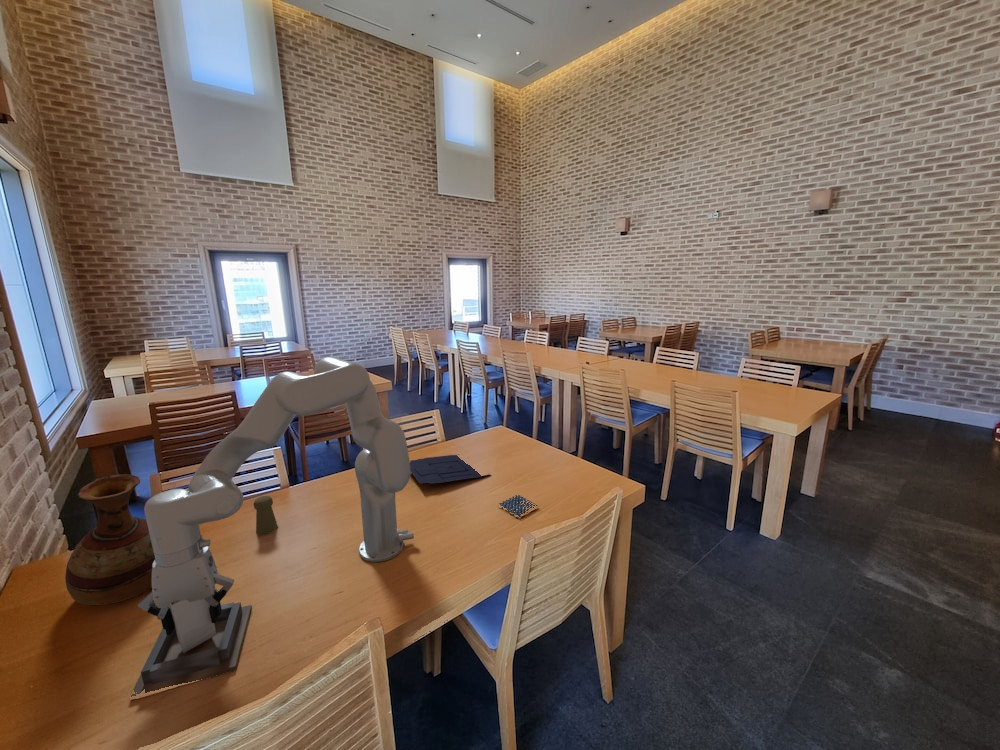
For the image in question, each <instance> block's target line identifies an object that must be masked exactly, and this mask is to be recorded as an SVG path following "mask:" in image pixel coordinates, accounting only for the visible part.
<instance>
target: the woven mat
mask: <svg viewBox="0 0 1000 750" xmlns="http://www.w3.org/2000/svg"><path fill="white" fill-rule="evenodd" d="M517 495H518V496H517ZM511 497H512V498H511ZM511 497H509V498H508V499H506V500H505V501H504V500H502V502H499V503H498V504H499V505H500V506H503V507H504V508H506V509H507V510H508V511H510V512H511V513H514V514H515V515H518V516H519V517H520V515H521V514H523V513H525V512H526V511H528V510H529V509H530V508H532V505H533V504H535V505H536V503H535V502H532V501H531V500H530V499H527V498H525V497H523V496H522V495H520V494H515V495H514V496H511ZM514 497H515V498H514ZM520 498H521V499H520ZM523 500H524V501H525V502H524V504H525V505H526V506H525V505H524V504H522V503H523ZM526 500H527V501H529V502H528V503H527V504H528V505H527V504H526V502H527V501H526ZM521 501H522V502H521ZM517 502H518V503H517ZM520 502H521V503H520ZM530 502H531V503H533V504H531V503H530ZM529 503H530V504H531V505H530V504H529ZM521 504H522V505H521ZM513 505H514V506H513ZM529 505H530V506H531V507H530V506H529ZM535 505H533V506H535ZM524 506H525V507H524ZM527 506H528V507H527ZM536 506H537V507H538V505H536ZM519 507H520V508H519ZM523 507H524V509H523ZM526 507H527V508H529V507H530V508H529V509H527V510H526ZM533 508H534V507H533ZM511 509H512V510H511ZM516 509H518V510H516ZM507 510H506V511H507ZM525 510H526V511H525ZM514 511H515V512H514ZM520 513H521V514H520Z"/></svg>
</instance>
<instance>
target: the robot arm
mask: <svg viewBox="0 0 1000 750" xmlns="http://www.w3.org/2000/svg"><path fill="white" fill-rule="evenodd" d="M313 369H314V370H313V372H314V373H313V374H312V375H307V376H306V375H304V374H300V373H297V372H295V371H294V372H293V371H283V372H279V373H278V374H276V375H274V377H273V378H272V379H271V380H270V381H269V383H268V384H267V385H266V387H265V389H264V390H263V391H262V393H261V394H260V395H259V397H258V399H257V400H256V401H255V403H254V404H253V406H252V407H251V408H250V410H249V411H248V413H247V414H246V415H245V417H244V419H243V420H242V421H241V422H240V423H239V425H238V426H237V428H235V429H234V430H233V431H231V432H230V433H229V434H228V435H227V436H226V437H224V438H222V440H221V441H220V442H219V443H217V444H216V445H215V446H214V447H213V448H212V449H211V451H210V452H208V454H207V455H206V457H205V458H204V459H203V461H202V462H201V464H200V465H199V466H198V468H197V470H196V471H195V473H194V474H193V475H192V478H191V479H190V481H189V484H188V487H187V488H188V489H186V488H185V489H184V488H173V489H169V490H165V491H161V492H159V493H157V494H155V495H153V496H151V497H150V498H149V499H147V501H146V502H145V504H144V515H145V519H146V521H147V525H148V530H149V534H150V539H151V543H152V548H153V553H154V557H155V560H154V562H153V565H152V587H151V590H150V591H149V592H148V593H147V594H146V595H145V596H144V597H142V598H141V600H140V601H139V602H138V604H137V607H138V608H139V609H141V610H143V611H145V612H146V611H147V613H148V614H149V615H152V616H155V617H156V618H157V620H160V622H161V626H162V629H165V630H166V634H167V635H170V634H171V633H172V631H173V629H174V627H175V625H174V621H173V617H172V614H171V610H170V607H171V605H170V604H171V603H173V602H178V601H182V600H188V601H189V602H193V601H197V600H201V599H205V600H206V601H207V602H208V603H209V604H210V607H209V612H210V617H211V622H212V623H216V621H217V618H218V616H219V615H221V612H222V609H221V605H222V603H221V601H222V600H223V598H224V597H225V596H226V594H227V593H228V592H229V591H230V589H231V588H232V587H233V585H234V582H235V580H234V579H233V578H230V577H228V576H225V575H222V574H219V572H218V567H217V564H216V561H215V559H214V556H213V554H212V552H211V550H210V548H209V546H211V543H212V541H211V539H210V538H209V539H205V538H203V534H201V529H200V525H202V524H206V523H207V524H208V523H211V522H212V523H213V522H217V521H221V520H225V519H227V518H229V517H232V516H233V515H235V514H236V513H237V512H239V510H240V509H241V508H242V506H243V504H244V494H243V492H242V490H241V489H240V488H239V487H238V485H237V484H236V483H235V482H234V481H233V480H232V479H233V478H234V476H235V475H236V473H237V472H238V471H239V469H240V468H241V467H242V465H243V464H244V462H246V461H247V460H248V459H249V458H250V457H252V456H253V455H254V454H256V453H258V452H260V451H265V450H266V449H267V450H268V449H270V448H273V447H275V446H276V445H277V444H279V441H280V440H281V439H282V437H283V436H284V434H285V432H286V431H287V430H288V428H289V426H290V424H291V423H292V422H293V421H294V419H295V417H296V416H299V417H300V416H301V417H303V416H310V415H314V414H318V413H321V412H325V411H327V410H330V409H332V408H335V407H337V406H340V405H343V404H344V406H345V409H346V413H347V416H348V422H349V426H350V431H351V435H352V439H353V441H354V442H355V444H356V445H358V446H359V447H360V448H362V450H360V452H359V453H358V454H357V456H356V459H355V462H354V472H355V478H356V480H357V484H358V488H359V496H360V508H361V519H362V520H361V521H362V533H363V541H362V542H361V543H360V544H359V548H358V554H359V556H360V558H361V559H363V560H364V561H367V562H371V563H381V562H385V561H388V560H391V559H392V558H395V557H397V556H398V555H399V554H400V553H401V552H402V550H403V548H404V541H408V540H413V539H414V537H415V536H414V535H415V534H414V531H411V532H410V531H409V529H408V528H406V529H403V530H400V529H399V528H398V525H397V523H398V522H397V507H396V506H397V505H396V494H397V493H399V492H401V491H402V490H404V489H405V488H406V487H407V485H408V483H409V481H410V478H411V474H412V473H411V467H410V462H411V460H410V457H409V456H410V455H409V449H408V444H407V439H406V435H405V432H404V430H403V428H402V427H401V426H400V425H399V424H398V423H397V422H395V421H393V420H392V419H389V418H387V417H385V416H384V414H383V411H382V406H381V403H380V400H379V395H378V393H377V390H376V389H377V388H375V386H374V384H373V382H372V381H371V377H370V374H369V372H368V370H367V369H366V368H365V367H364V366H362V365H361V364H359V363H357V362H352V361H349V360H346V359H343V358H339V357H335V356H327V357H323V358H321V359H320V360H319V361H317V362H316V363H315V366H314V368H313ZM215 585H219V586H221V588H220V589H219V590H218V589H217V588H216V586H215Z"/></svg>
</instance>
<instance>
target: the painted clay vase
mask: <svg viewBox="0 0 1000 750" xmlns="http://www.w3.org/2000/svg"><path fill="white" fill-rule="evenodd" d="M140 483H141V479H140V477H139V476H137V475H134V474H133V475H132V474H127V473H123V474H121V473H117V474H115V475H107V476H106V475H105V476H104V477H100V478H96V479H94V481H92V482H90V483H88V484H86V485H84V486H83V487H82V488H80V489H79V492H78V493H77V496H78V498H79V499H80V500H82V501H85V502H87V503H88V502H89V503H92V504H91V505H92V507H93V511H94V515H95V518H96V523H95V524H96V525H95V527H94V528H92V529H91V530H90V531H88V532H87V534H85V535H84V536H83V537H82V539H81V540H80V541H79V542H78V543H77V544H76V545H75V548H74V549H73V550H72V552H71V554H70V556H69V559H68V561H67V565H66V569H65V577H64V578H65V579H64V580H65V585H66V589H67V592H68V594H69V595H70V597H71V598H72V600H74V602H77V603H78V604H81V605H85V606H86V605H88V606H89V605H90V606H91V605H92V606H100V605H101V606H102V605H109V604H113V603H119V602H123V601H126V600H129V599H132V598H135V597H137V596H139V595H141V594H143V593H144V592H147V591H148V590H150V589H152V565H153V562H154V560H155V557H154V553H153V548H152V543H151V539H150V534H149V530H148V525H147V521H146V518H143V517H137V516H133V515H132V513H131V511H130V506H129V502H130V497H131V495H132V492H133V490H135V488H136V487H137V486H138V485H140Z"/></svg>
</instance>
